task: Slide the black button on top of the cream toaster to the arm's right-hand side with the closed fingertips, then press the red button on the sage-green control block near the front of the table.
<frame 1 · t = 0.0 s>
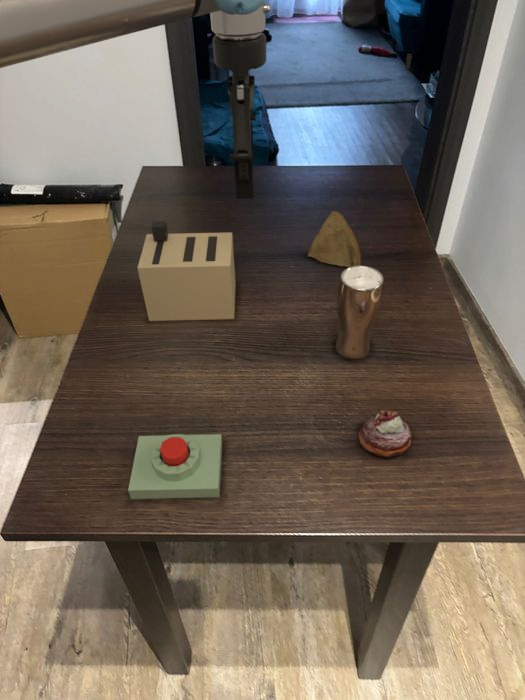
hand: (245, 178, 88), 24 cm above the table, tool pointing down, fingers open, 13 cm apart
beer glass: (352, 348, 92), on the table
control block: (178, 470, 75), on the table
toaster: (193, 302, 103), on the table
red button: (174, 451, 71), point 4 cm above the table, slide at 0.1 cm
pastry: (384, 440, 78), on the table
rock: (335, 261, 112), on the table
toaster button: (159, 231, 96), point 14 cm above the table, slide at 0.0 cm
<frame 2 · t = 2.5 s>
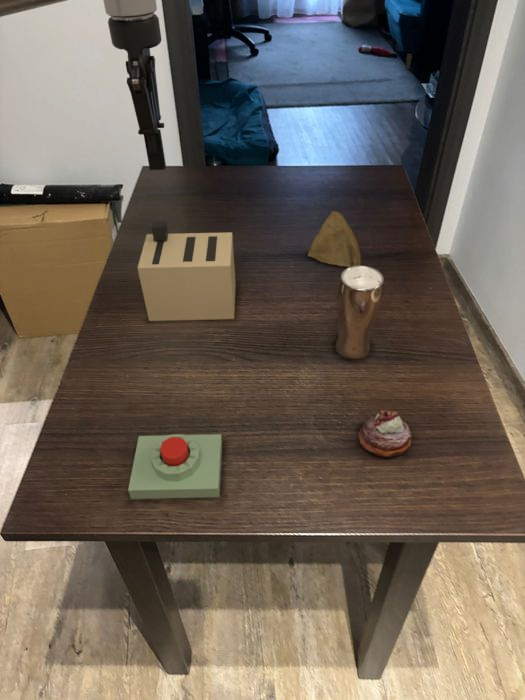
hand: (157, 167, 94), 23 cm above the table, tool pointing down, fingers closed
nothing on the table moved.
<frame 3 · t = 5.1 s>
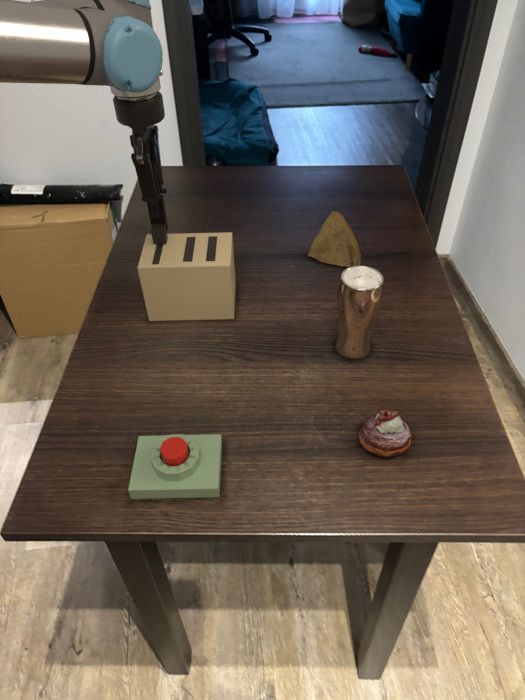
hand: (160, 229, 96), 14 cm above the table, tool pointing down, fingers closed
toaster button: (159, 233, 95), point 14 cm above the table, slide at 0.9 cm, touching gripper
everything else where it was.
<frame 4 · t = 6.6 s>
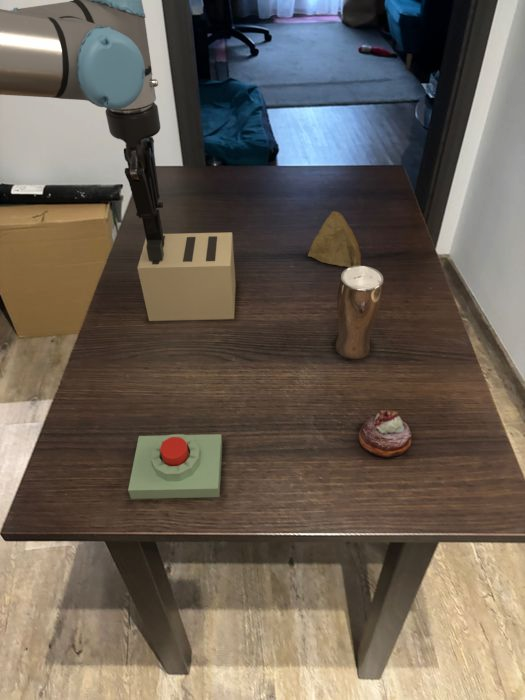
hand: (156, 245, 92), 14 cm above the table, tool pointing down, fingers closed
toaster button: (155, 250, 91), point 14 cm above the table, slide at 6.3 cm, touching gripper
everything else where it was.
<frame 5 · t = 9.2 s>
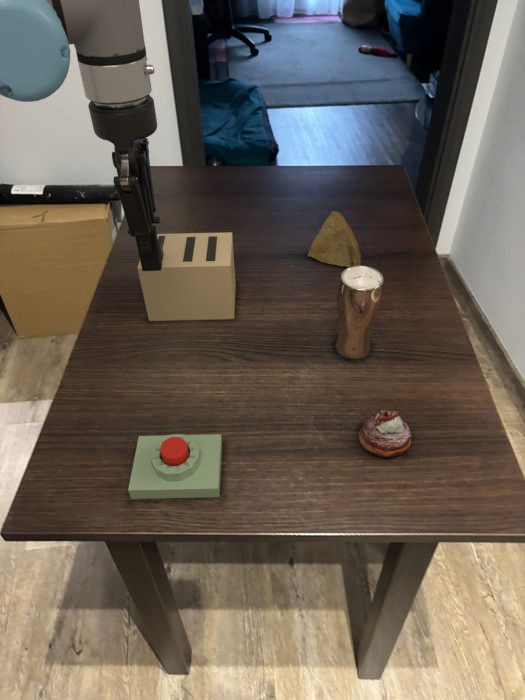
hand: (152, 267, 77), 20 cm above the table, tool pointing down, fingers closed
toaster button: (155, 250, 91), point 14 cm above the table, slide at 6.5 cm
everything else where it was.
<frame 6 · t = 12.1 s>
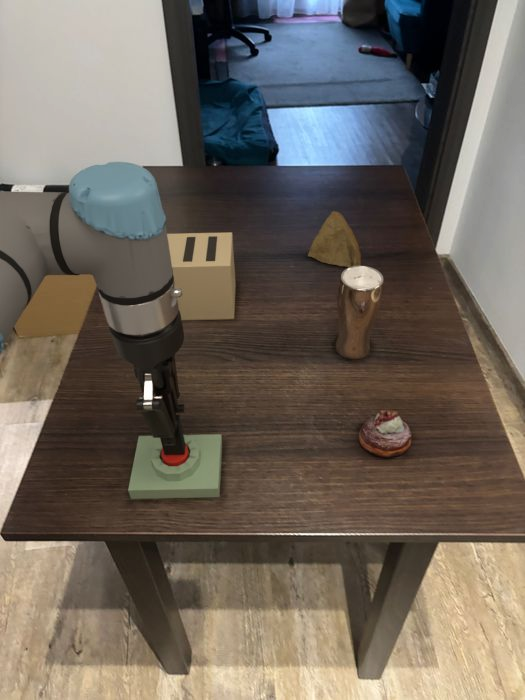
hand: (175, 450, 71), 5 cm above the table, tool pointing down, fingers closed
red button: (175, 455, 72), point 4 cm above the table, slide at -0.8 cm, touching gripper
everything else where it was.
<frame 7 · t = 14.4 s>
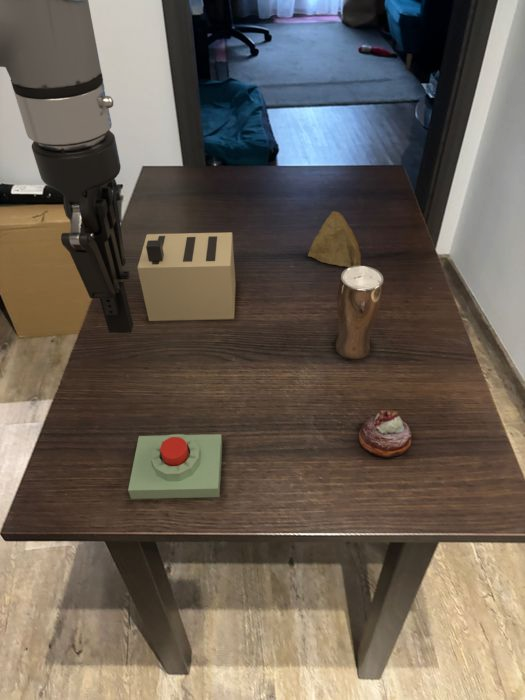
hand: (121, 328, 65), 21 cm above the table, tool pointing down, fingers closed
red button: (174, 451, 71), point 4 cm above the table, slide at 0.1 cm
everything else where it was.
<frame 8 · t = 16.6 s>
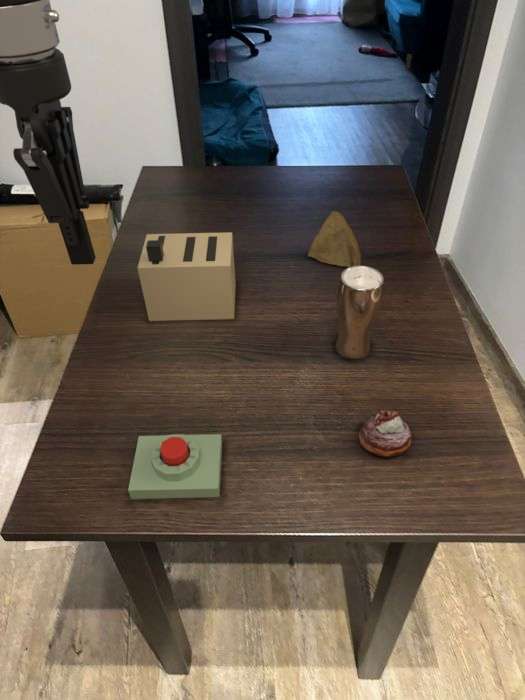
hand: (83, 260, 66), 26 cm above the table, tool pointing down, fingers closed
nothing on the table moved.
at the end: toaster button slide at 6.5 cm; red button pushed in 1.0 cm at the most during the clip, back to where it started at the end; red button slide at 0.1 cm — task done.
